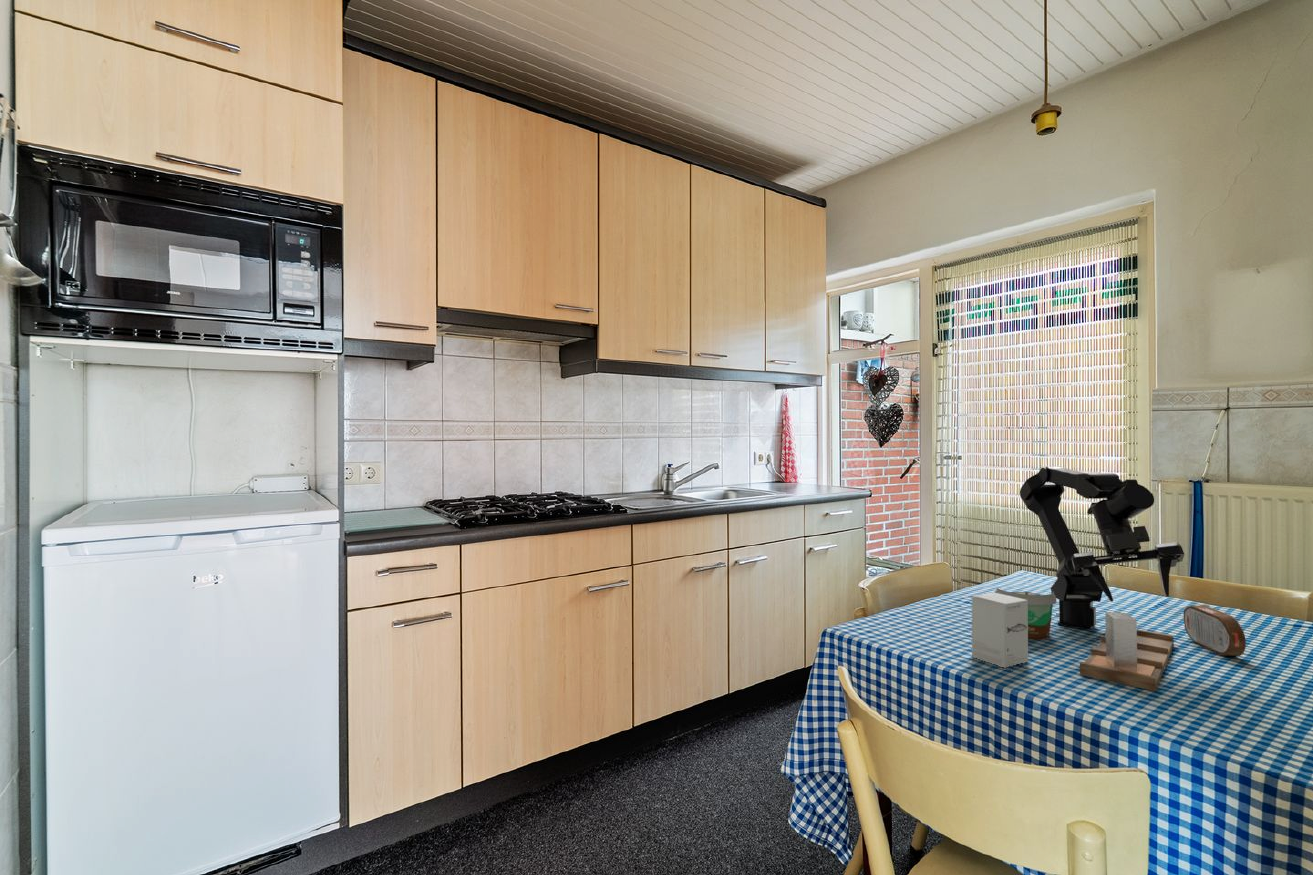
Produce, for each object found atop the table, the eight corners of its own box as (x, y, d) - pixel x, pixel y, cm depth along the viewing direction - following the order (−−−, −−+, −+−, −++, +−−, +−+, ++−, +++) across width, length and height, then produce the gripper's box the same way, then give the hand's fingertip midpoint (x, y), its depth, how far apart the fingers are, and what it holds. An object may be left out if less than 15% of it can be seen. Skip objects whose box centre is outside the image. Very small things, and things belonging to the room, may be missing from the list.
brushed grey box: (1106, 660, 117) (1105, 611, 117) (1128, 663, 115) (1127, 613, 115) (1114, 669, 112) (1113, 618, 112) (1137, 672, 111) (1136, 620, 111)
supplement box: (1005, 669, 116) (1004, 603, 116) (970, 657, 123) (970, 595, 123) (1029, 663, 119) (1029, 599, 119) (994, 652, 126) (994, 591, 126)
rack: (1079, 674, 113) (1079, 662, 113) (1110, 634, 137) (1110, 624, 137) (1155, 691, 105) (1155, 678, 105) (1173, 645, 130) (1173, 635, 130)
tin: (1248, 662, 120) (1247, 619, 120) (1229, 661, 120) (1228, 618, 121) (1196, 638, 134) (1196, 600, 135) (1180, 637, 135) (1179, 600, 135)
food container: (998, 637, 135) (998, 592, 135) (994, 629, 141) (994, 587, 141) (1063, 644, 131) (1062, 598, 131) (1056, 635, 136) (1055, 591, 136)
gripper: (1062, 521, 129) (1084, 594, 122) (1171, 506, 120) (1202, 583, 113) (1064, 537, 137) (1085, 606, 130) (1167, 524, 128) (1196, 597, 121)
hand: (1139, 598), depth 123 cm, fingers open, 9 cm apart
